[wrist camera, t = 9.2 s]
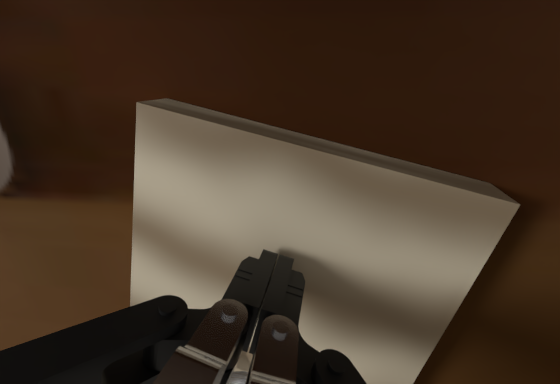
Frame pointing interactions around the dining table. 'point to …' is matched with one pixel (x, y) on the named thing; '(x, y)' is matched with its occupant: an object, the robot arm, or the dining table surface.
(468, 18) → the dining table surface
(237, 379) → the steel ball
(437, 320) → the board
